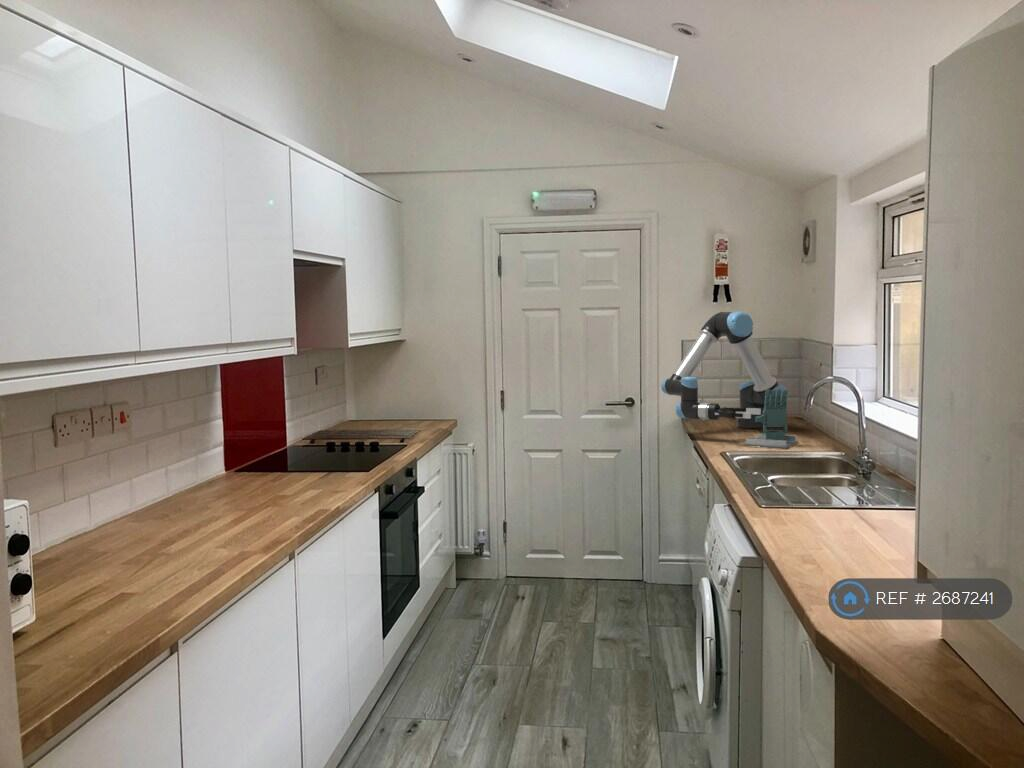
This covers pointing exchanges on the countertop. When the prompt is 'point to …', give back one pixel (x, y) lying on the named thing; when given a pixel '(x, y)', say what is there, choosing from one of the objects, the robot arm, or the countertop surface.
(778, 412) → the robotic hand
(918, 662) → the countertop surface
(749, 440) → the rail dock
